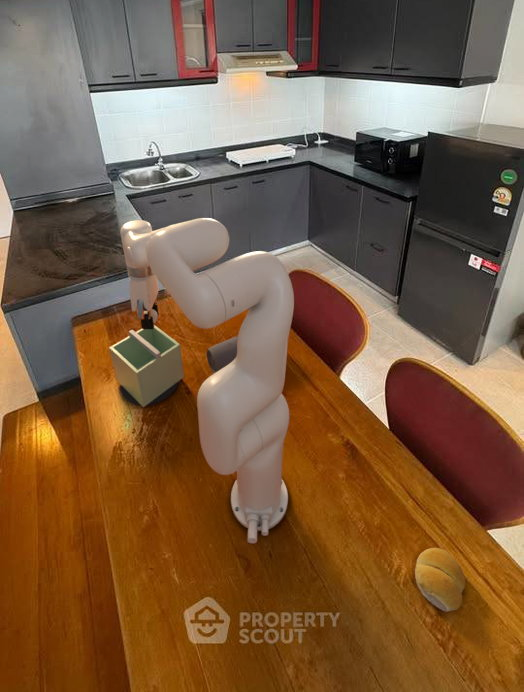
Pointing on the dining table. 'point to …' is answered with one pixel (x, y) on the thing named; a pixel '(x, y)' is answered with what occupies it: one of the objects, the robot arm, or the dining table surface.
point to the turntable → (160, 398)
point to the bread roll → (440, 579)
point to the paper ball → (153, 315)
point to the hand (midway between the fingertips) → (150, 321)
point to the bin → (147, 363)
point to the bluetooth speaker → (222, 354)
